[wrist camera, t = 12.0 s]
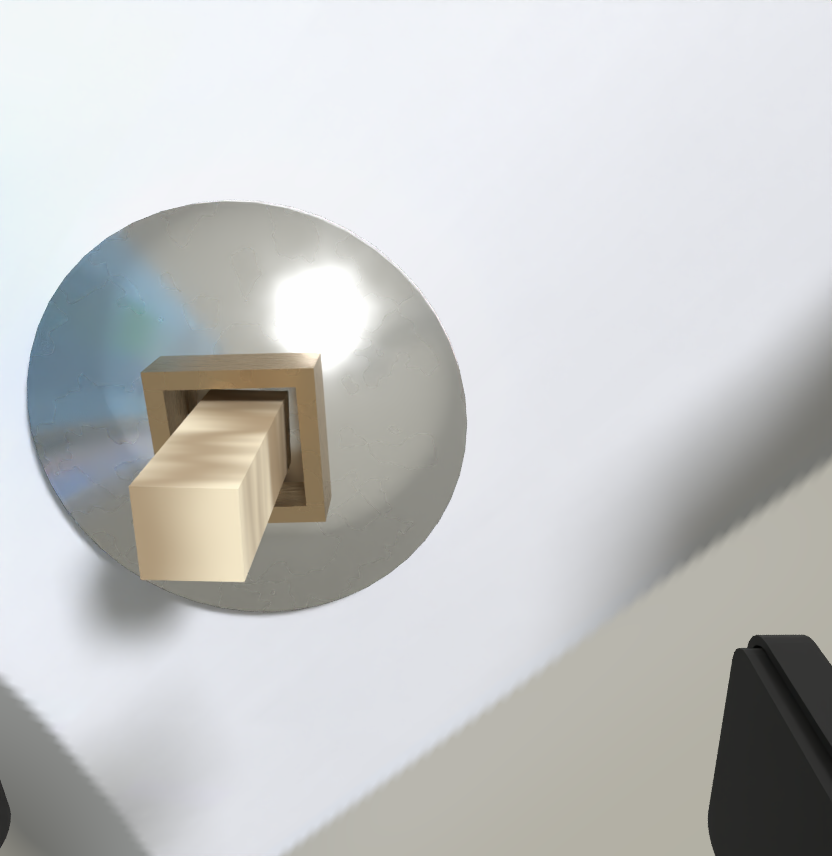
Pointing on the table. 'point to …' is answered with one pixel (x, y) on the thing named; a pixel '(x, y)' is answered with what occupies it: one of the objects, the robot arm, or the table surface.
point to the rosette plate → (254, 370)
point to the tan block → (212, 488)
